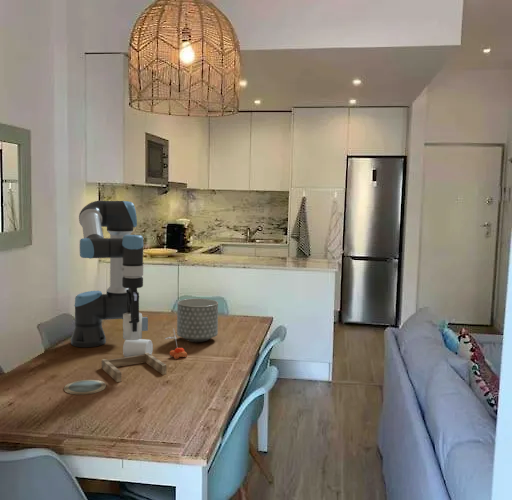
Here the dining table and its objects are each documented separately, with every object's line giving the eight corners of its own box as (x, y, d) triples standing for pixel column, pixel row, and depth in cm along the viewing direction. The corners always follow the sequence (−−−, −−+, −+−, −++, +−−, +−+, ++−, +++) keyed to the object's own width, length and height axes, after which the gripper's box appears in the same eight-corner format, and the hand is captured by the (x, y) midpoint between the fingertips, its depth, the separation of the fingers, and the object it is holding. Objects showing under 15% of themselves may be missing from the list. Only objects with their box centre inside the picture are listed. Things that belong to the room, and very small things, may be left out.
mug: (145, 361, 220) (145, 342, 219) (122, 359, 222) (122, 340, 221) (156, 353, 231) (156, 335, 231) (134, 351, 233) (134, 333, 233)
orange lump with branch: (166, 354, 230) (166, 327, 229) (188, 355, 230) (188, 327, 229) (163, 359, 224) (163, 330, 223) (186, 359, 224) (186, 331, 223)
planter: (169, 342, 249) (169, 303, 247) (189, 333, 267) (189, 297, 265) (205, 347, 242) (206, 308, 240) (224, 337, 260) (224, 300, 258)
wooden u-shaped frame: (101, 368, 210) (101, 359, 210) (148, 361, 220) (148, 352, 220) (117, 382, 195) (117, 372, 194) (166, 373, 205) (166, 364, 205)
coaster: (59, 384, 191) (59, 383, 190) (99, 378, 198) (99, 377, 198) (69, 397, 179) (69, 396, 179) (111, 390, 186) (111, 389, 186)
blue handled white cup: (121, 336, 204) (121, 312, 203) (145, 334, 207) (145, 311, 207) (124, 340, 198) (124, 316, 197) (149, 339, 201) (149, 315, 200)
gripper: (118, 273, 208) (118, 331, 210) (126, 281, 189) (126, 344, 191) (138, 272, 210) (138, 330, 213) (147, 280, 192) (147, 343, 194)
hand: (132, 336), depth 202 cm, fingers closed on blue handled white cup, 7 cm apart
